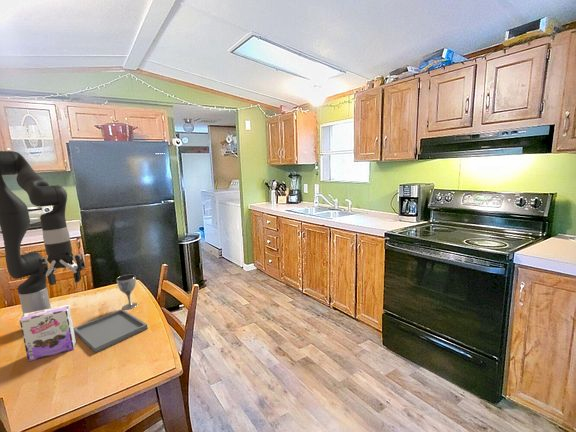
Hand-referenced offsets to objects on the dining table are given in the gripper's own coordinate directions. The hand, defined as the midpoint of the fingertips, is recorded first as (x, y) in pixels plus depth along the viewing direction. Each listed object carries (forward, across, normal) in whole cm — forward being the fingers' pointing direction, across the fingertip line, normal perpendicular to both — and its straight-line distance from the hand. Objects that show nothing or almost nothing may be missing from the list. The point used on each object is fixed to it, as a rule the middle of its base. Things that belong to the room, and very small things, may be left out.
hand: (65, 283), depth 110 cm
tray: (+26, -8, -10) cm, 29 cm away
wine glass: (+25, -7, -32) cm, 41 cm away
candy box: (+26, +8, +2) cm, 27 cm away
